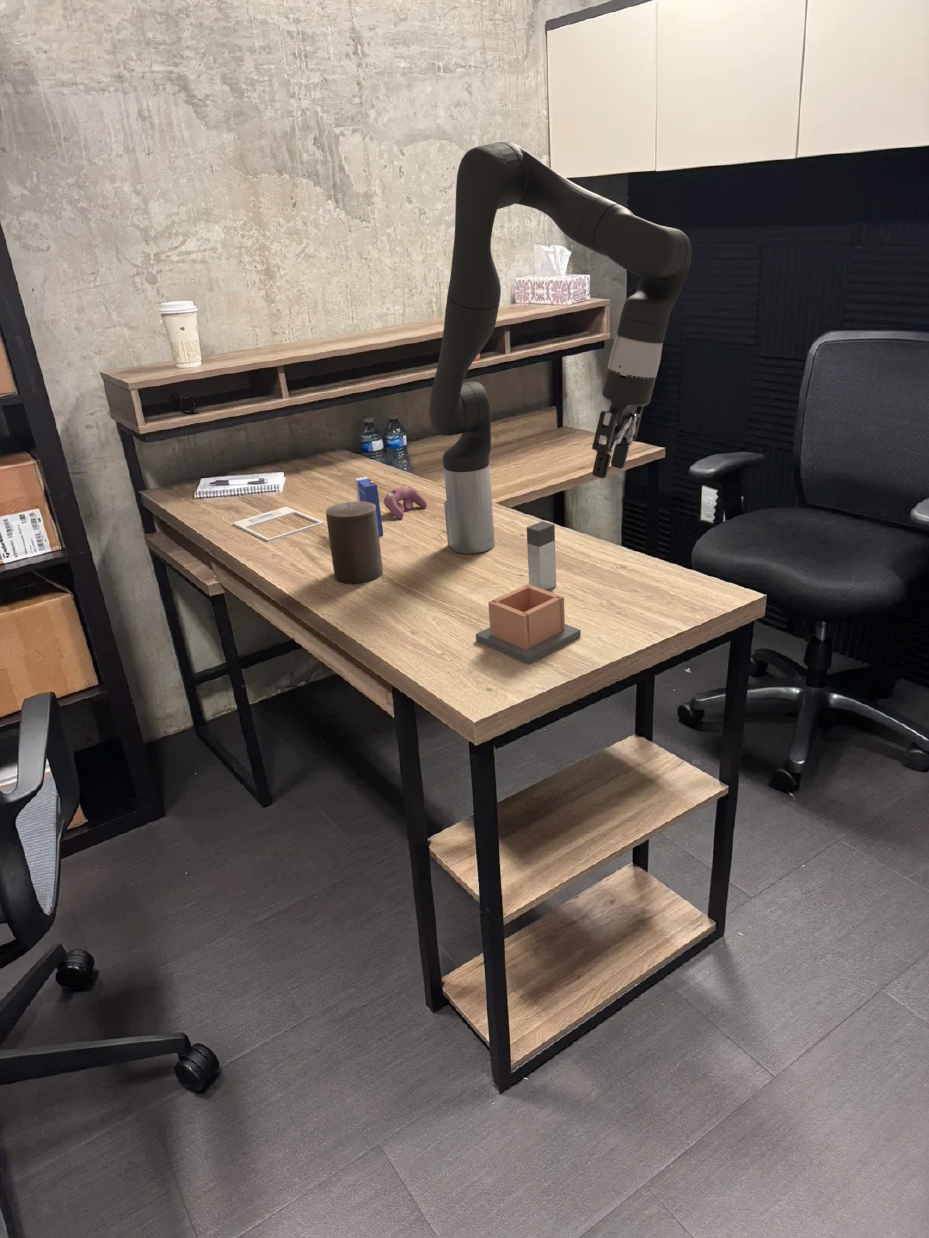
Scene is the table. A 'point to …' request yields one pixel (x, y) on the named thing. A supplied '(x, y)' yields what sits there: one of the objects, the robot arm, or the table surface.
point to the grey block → (541, 555)
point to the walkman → (369, 497)
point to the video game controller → (408, 498)
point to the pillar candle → (354, 542)
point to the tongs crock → (527, 624)
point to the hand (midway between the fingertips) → (608, 471)
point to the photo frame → (272, 516)
